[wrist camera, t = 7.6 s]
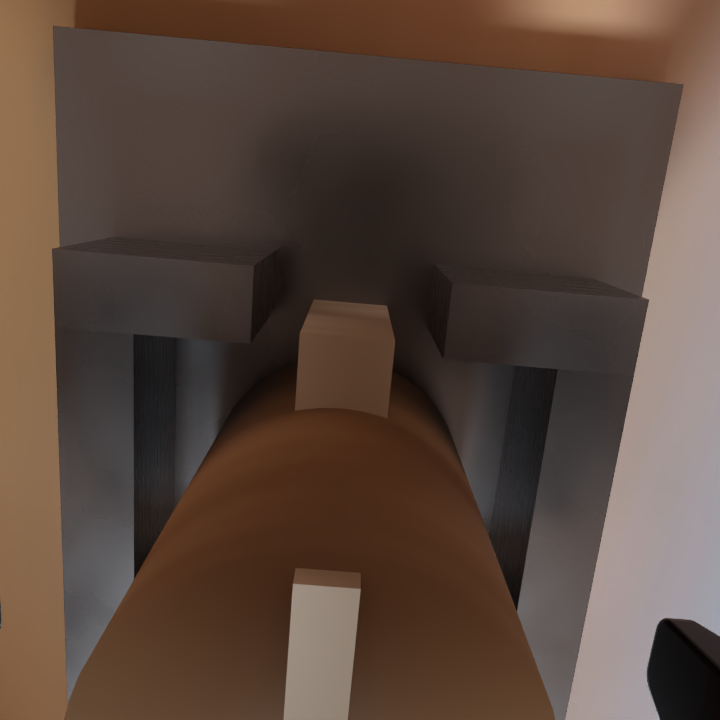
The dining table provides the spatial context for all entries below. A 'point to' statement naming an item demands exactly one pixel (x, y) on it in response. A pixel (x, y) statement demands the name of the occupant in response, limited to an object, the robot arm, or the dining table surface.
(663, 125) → the base plate
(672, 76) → the dining table surface
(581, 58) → the dining table surface
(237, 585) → the knob
